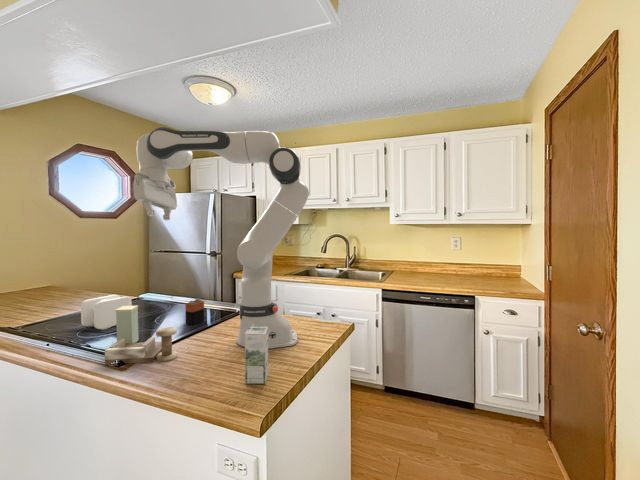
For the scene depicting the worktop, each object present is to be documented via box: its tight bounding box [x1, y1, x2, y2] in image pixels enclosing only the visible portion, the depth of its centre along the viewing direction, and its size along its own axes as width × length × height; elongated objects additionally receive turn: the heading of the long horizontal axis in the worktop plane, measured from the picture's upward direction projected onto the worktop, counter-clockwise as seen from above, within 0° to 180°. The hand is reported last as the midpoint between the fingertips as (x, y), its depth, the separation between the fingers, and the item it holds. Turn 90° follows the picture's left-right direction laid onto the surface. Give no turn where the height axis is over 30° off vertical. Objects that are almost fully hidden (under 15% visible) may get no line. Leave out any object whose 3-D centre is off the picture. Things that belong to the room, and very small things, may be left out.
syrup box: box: [244, 327, 269, 385], centre depth 86 cm, size 6×6×14 cm
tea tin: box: [115, 305, 139, 343], centre depth 111 cm, size 5×5×13 cm
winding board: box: [104, 336, 162, 366], centre depth 102 cm, size 14×13×4 cm
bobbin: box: [155, 326, 178, 362], centre depth 100 cm, size 6×6×9 cm
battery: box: [185, 298, 205, 326], centre depth 134 cm, size 4×7×10 cm, turn 155°
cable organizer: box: [80, 294, 133, 331], centre depth 130 cm, size 15×11×12 cm
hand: (159, 217), depth 107 cm, fingers open, 8 cm apart
